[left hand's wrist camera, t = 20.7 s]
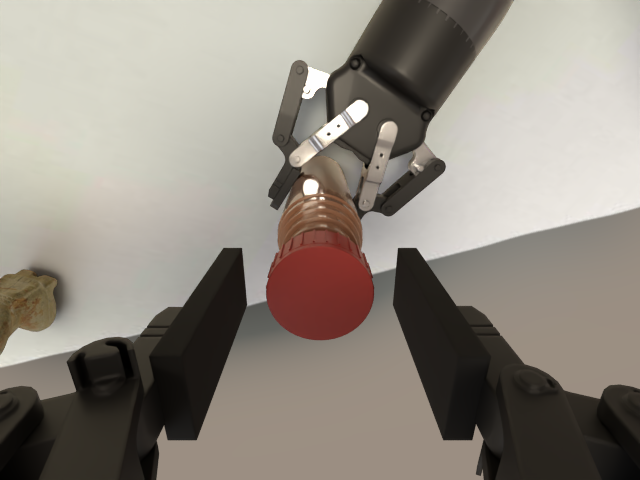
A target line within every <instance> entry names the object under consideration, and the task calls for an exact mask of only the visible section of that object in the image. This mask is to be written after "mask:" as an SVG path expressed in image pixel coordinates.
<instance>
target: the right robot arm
mask: <svg viewBox="0 0 640 480" xmlns="http://www.w3.org/2000/svg"><path fill="white" fill-rule="evenodd" d="M513 1H514V0H383V1H382V2H381V4H380V6H379V7H378V9H377V11H376V12H375V14H374V16H373V17H372V19H371V21H370V22H369V24H368V26H367V27H366V29H365V31H364V32H363V34H362V36H361V38H360V39H359V41H358V43H357V44H356V46H355V48H354V49H353V51H352V53H351V54H350V56H349V58H348V59H347V61H346V63H345V64H344V65H343V66H342V67H340V68H339V69H337V70H335V71H334V72H333V73H331V75H329V74H327V73H324V72H321V71H318V70H316V69H313V68H310V67H308V66H307V64H306V63H305V62H304V61H301V60H298V61H295V62H294V63H293V64H292V67H291V70H290V74H289V78H288V81H287V85H286V89H285V92H284V96H283V100H282V103H281V107H280V111H279V115H278V118H277V122H276V126H275V129H274V133H273V137H272V139H273V142H274V144H275V145H277V146H278V147H279V148H280V150H281V151H282V152H283V153H284V155H285V164H284V166H283V167H282V169H281V171H280V173H279V174H278V176H277V178H276V179H275V181H274V183H273V184H272V186H271V188H270V189H269V194H268V197H270V198H272V199H273V201H272V203H271V205H270V206H271V207H273V208H274V209H276V210H278V209H279V207H280V205H281V204H282V202H283V201H284V199H285V197H286V196H287V194H288V193H289V191H290V189H291V188H292V186H293V184H294V183H295V181H296V180H297V178H298V176H299V175H300V173H301V170H302V165H303V164H305V163H306V162H307V161H308V160H310V159H311V158H312V157H313V156H315V155H316V154H317V153H318V152H320V151H322V150H323V149H324V148H326V147H327V146H328V145H329V144H331V143H332V142H334V143H336V144H337V145H339V146H340V147H342V148H345V149H348V150H351V151H353V152H354V154H355V155H356V156H357V157H358V158H359V159H360V160H361V161H363V162H364V163H363V167H362V171H361V177H360V181H359V185H358V188H357V192H356V196H355V197H354V198H353V202H354V205H355V207H356V210H357V213H358V216H359V218H360V220H361V219H362V217H363V216H364V215H365V214H366V213H367V212H370V211H374V212H379V213H383V214H384V215H385V216H392V215H393V214H395V213H396V212H397V211H398V210H399V209H401V208H402V207H403V206H404V205H405V204H407V203H408V202H409V201H410V200H411V199H413V198H414V197H415V196H416V195H417V194H418V193H420V192H421V191H422V190H423V189H424V188H426V187H427V186H428V185H429V184H430V183H432V182H433V181H434V180H435V179H436V178H437V177H439V176H440V175H441V174H442V173H443V172H444V171H445V168H446V165H445V163H444V161H442V160H440V159H439V158H436V157H435V155H434V154H433V153H432V152H431V150H430V149H429V148H428V147H427V145H426V144H425V143H424V140H425V137H426V131H427V127H428V125H429V123H430V121H431V120H432V118H433V117H434V116H435V114H436V113H437V112H438V110H439V109H440V107H441V106H442V105H443V103H444V102H445V100H446V99H447V98H448V96H449V95H450V93H451V92H452V91H453V89H454V88H455V86H456V85H457V84H458V82H459V81H460V80H461V78H462V77H463V75H464V74H465V73H466V71H467V70H468V68H469V67H470V66H471V64H472V63H473V61H474V60H475V58H476V57H477V56H478V54H479V53H480V52H481V50H482V49H483V47H484V46H485V45H486V43H487V42H488V40H489V39H490V38H491V36H492V35H493V33H494V32H495V30H496V29H497V28H498V26H499V25H500V23H501V22H502V20H503V19H504V17H505V15H506V13H507V12H508V10H509V8H510V6H511V4H512V3H513ZM320 88H325V89H326V106H327V122H326V123H325V124H324V125H323V126H322V127H320V128H319V129H318V130H317V131H315V132H314V133H313V134H312V135H311V136H310V137H308V138H307V139H306V140H305V141H304V142H302V143H301V144H300V145H299V144H298V143H297V141H296V140H295V139H294V137H293V136H292V133H293V130H294V127H295V123H296V120H297V116H298V113H299V109H300V106H301V103H302V99H303V98H304V99H310V98H312V97H313V96H314V94H315V92H316V91H317V90H318V89H320ZM328 132H329V133H328ZM411 151H413V157H412V159H411V160H410V161H409V163H408V169H409V171H408V172H407V173H405V174H404V175H403V176H402V177H401V178H400V179H399V180H397V181H396V182H395V183H394V184H393V185H392V186H390V187H389V188H388V189H387V190H386V191H385V192H384V193H382V194H377V192H378V188H379V185H380V184H381V182H382V180H383V176H384V173H385V170H386V166H387V163H388V160H390V159H393V158H395V157H398V156H401V155H403V154H406V153H408V152H411Z"/></svg>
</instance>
